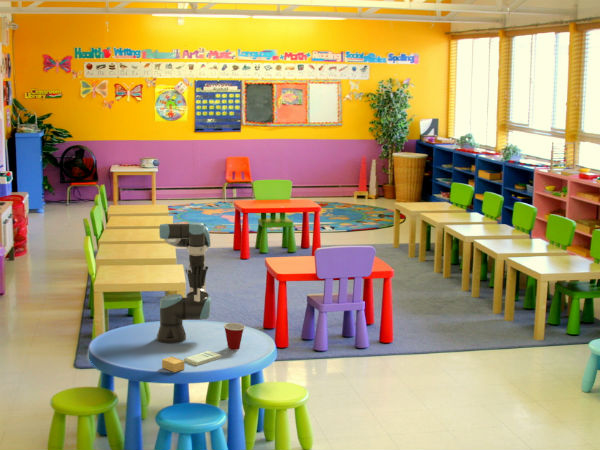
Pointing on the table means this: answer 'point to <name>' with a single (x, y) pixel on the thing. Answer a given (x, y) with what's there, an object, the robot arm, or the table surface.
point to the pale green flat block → (202, 358)
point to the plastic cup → (234, 335)
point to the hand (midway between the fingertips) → (197, 300)
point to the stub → (173, 364)
